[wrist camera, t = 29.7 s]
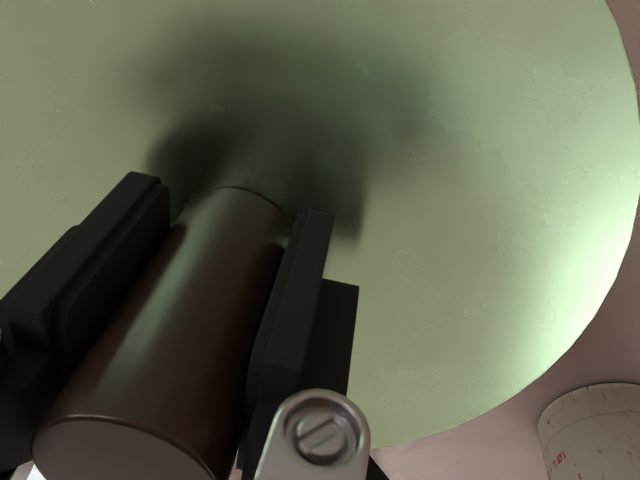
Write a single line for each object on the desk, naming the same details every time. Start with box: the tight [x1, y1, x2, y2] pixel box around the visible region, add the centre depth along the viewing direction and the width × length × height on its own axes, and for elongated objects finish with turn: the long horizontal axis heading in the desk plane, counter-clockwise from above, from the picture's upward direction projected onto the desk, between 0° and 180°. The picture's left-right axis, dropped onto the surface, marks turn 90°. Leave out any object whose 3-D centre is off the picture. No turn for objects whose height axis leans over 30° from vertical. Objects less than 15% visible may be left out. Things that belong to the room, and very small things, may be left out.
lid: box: [0, 0, 640, 480], centre depth 9 cm, size 16×16×7 cm
